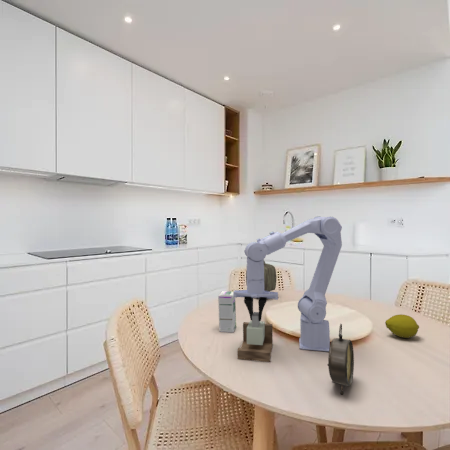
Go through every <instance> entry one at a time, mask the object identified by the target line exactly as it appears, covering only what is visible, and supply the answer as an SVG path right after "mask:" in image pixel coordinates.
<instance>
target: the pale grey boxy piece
mask: <svg viewBox="0 0 450 450" xmlns="http://www.w3.org/2000/svg"><path fill="white" fill-rule="evenodd" d="M248 322H249V324H248V326H247V344H253V345H263V341H264V337H265V324H266V323H265V321H262V320H261V321H259V311H253V315H252V320H249V321H248Z"/></svg>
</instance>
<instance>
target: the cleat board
mask: <svg viewBox="0 0 450 450" xmlns="http://www.w3.org/2000/svg"><path fill="white" fill-rule="evenodd" d="M249 322H250V321H243V323H242V333H243V334H242V337H243V340H242V344H241V345H240V347H238V348H237V360H242V361H243V360H245V361H254V362H263V363H264V362H266V363H271V357H272V350H273V344H274V343H273V340H274V339H273V337H274V336H273V323H265V337H264V341H263V345H253V344H247V326H248V324H249Z"/></svg>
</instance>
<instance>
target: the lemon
mask: <svg viewBox="0 0 450 450" xmlns="http://www.w3.org/2000/svg"><path fill="white" fill-rule="evenodd" d="M384 324H385V327H386V329H388V330H389V331H390V332H391V333H392V334H393V335H395V336H397V337H399V338H404V339H407V338H409V339H410V338H413V337H415V336H416V335H417V334H418V331H419V329H420V325H419V324H418V323H417V321H416V320H415V318H414V317H412V316H410V315H407V314H395V315H392V316H391V317H389V318H388V319H386V320H385V322H384Z"/></svg>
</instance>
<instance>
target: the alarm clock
mask: <svg viewBox="0 0 450 450" xmlns="http://www.w3.org/2000/svg"><path fill="white" fill-rule="evenodd" d="M354 353H355V352H354V345H353V341H352V340H351V339H347V338H343V324H342V323H340V324H339V331H338V337H334V338H333V339H332V340H331V341H330V348H329V351H328V357H327V358H328V363H327V366H328V373H329V377H330V380H331V382H332V383H333V382H334V383H335V384H339V385H340V395H342V396H343V395H344V389H345V386H347V387H350V386H351V385H352V383H353V378H354V370H355V368H354V367H355V357H354V355H355V354H354Z"/></svg>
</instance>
